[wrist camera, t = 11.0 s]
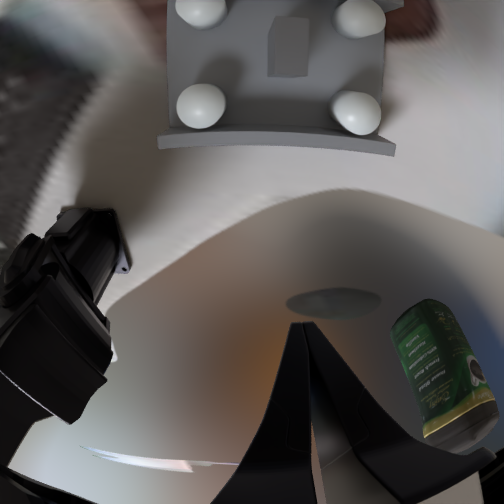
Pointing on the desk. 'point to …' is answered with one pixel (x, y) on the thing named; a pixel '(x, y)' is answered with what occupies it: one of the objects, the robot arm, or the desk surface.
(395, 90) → the desk surface
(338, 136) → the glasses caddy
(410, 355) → the coffee jar
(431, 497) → the robot arm
